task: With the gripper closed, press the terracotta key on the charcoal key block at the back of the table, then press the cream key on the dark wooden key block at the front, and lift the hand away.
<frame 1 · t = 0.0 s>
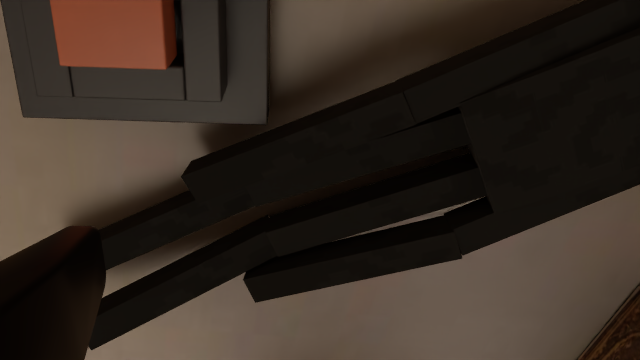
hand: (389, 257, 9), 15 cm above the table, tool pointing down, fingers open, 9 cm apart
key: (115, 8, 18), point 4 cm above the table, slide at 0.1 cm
toy: (399, 146, 25), on the table
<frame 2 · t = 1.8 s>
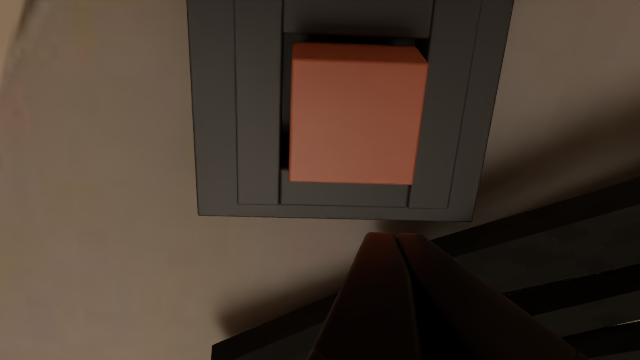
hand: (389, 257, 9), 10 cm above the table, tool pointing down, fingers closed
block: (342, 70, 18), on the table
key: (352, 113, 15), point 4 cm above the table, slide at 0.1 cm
toy: (596, 234, 22), on the table
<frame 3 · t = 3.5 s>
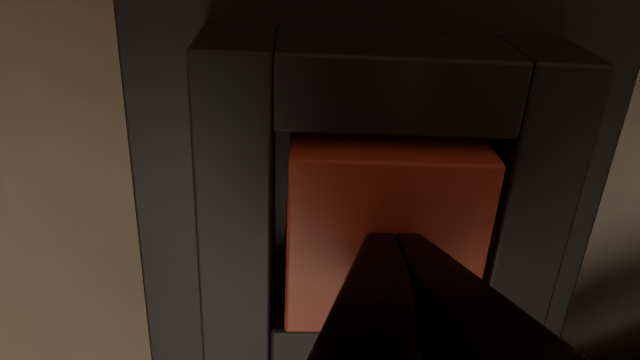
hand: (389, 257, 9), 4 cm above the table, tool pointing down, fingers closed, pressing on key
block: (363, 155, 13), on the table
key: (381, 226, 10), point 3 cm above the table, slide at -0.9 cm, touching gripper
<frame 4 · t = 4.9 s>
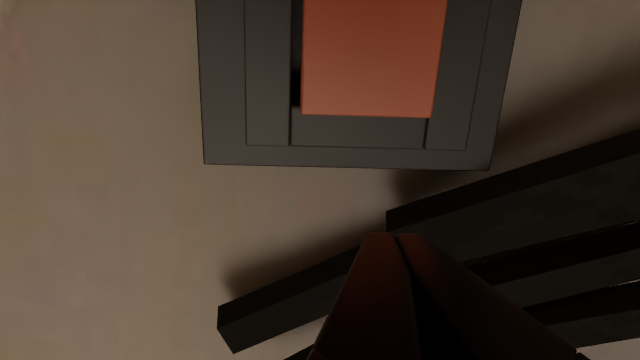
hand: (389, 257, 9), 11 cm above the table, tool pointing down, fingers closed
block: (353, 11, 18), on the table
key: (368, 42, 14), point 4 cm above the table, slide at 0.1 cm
toy: (616, 189, 21), on the table
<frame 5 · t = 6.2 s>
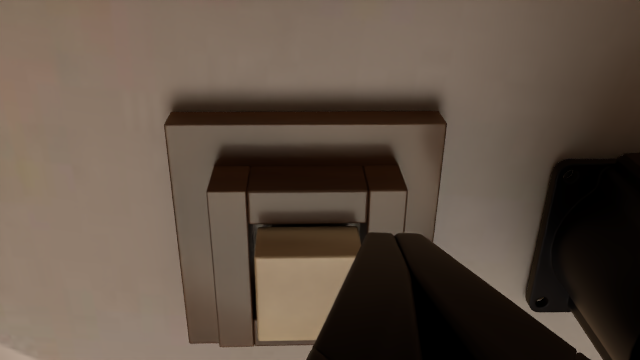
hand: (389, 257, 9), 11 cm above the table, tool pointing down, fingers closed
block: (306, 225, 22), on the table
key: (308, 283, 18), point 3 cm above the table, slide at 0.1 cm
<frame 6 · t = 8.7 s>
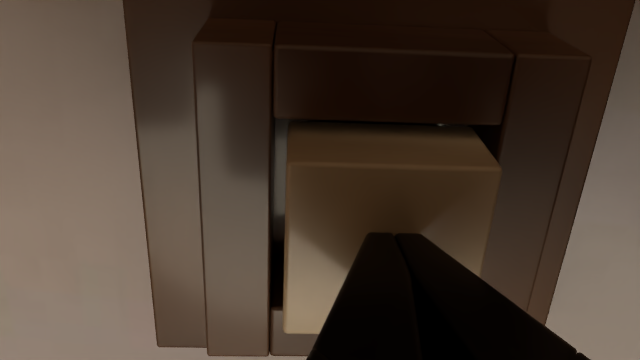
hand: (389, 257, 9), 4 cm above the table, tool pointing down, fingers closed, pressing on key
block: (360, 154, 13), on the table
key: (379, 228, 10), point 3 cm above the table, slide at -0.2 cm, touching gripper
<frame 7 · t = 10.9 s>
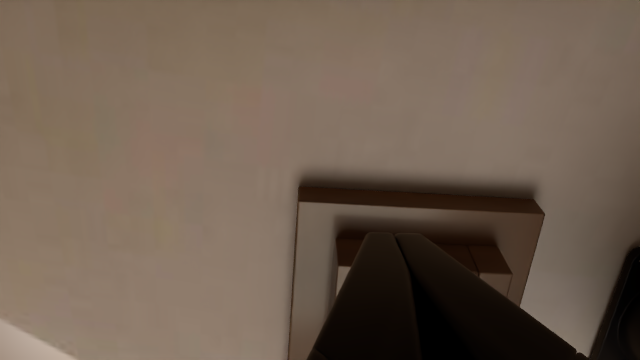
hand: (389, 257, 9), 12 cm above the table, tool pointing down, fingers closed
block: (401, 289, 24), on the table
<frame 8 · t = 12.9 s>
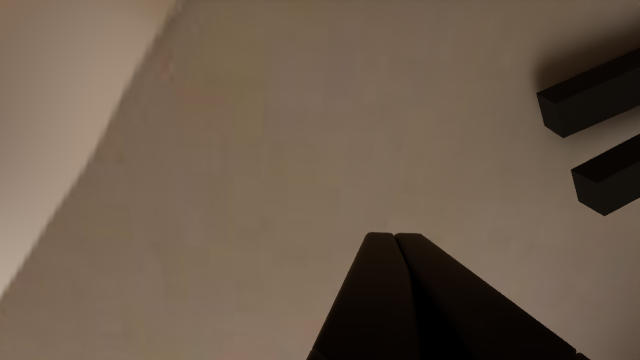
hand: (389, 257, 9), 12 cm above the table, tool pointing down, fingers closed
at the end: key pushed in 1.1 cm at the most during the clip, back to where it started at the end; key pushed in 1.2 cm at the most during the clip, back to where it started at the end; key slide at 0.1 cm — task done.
